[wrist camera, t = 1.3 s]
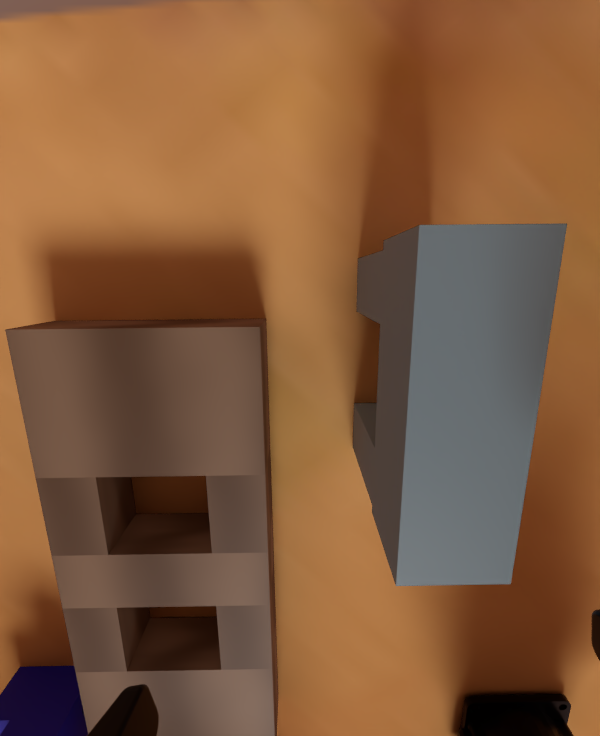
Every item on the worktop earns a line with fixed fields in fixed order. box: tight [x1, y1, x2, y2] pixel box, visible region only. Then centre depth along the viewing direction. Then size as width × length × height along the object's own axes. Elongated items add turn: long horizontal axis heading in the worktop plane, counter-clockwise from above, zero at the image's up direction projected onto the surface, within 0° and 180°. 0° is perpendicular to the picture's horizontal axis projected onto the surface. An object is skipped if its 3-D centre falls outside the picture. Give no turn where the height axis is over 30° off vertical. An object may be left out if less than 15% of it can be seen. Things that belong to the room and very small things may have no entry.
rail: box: [5, 319, 278, 736], centre depth 19 cm, size 10×24×3 cm, turn 1°
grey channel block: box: [353, 224, 567, 586], centre depth 14 cm, size 3×10×8 cm, turn 1°
